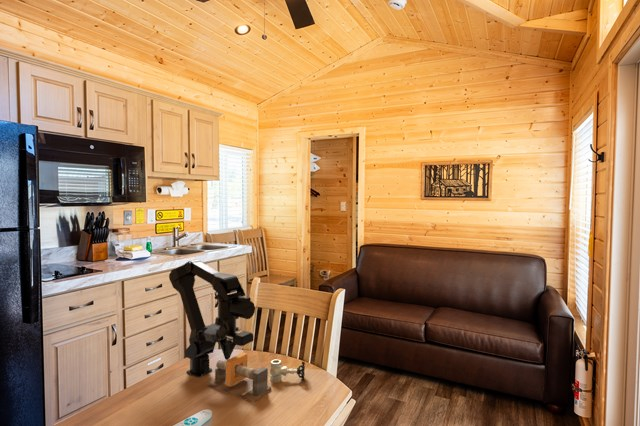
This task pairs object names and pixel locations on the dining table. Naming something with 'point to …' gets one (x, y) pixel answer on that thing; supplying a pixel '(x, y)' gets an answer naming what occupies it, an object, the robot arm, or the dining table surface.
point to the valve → (284, 371)
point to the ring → (230, 369)
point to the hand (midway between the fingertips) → (227, 359)
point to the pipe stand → (242, 381)
